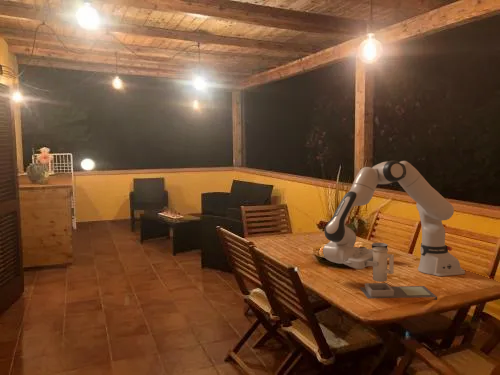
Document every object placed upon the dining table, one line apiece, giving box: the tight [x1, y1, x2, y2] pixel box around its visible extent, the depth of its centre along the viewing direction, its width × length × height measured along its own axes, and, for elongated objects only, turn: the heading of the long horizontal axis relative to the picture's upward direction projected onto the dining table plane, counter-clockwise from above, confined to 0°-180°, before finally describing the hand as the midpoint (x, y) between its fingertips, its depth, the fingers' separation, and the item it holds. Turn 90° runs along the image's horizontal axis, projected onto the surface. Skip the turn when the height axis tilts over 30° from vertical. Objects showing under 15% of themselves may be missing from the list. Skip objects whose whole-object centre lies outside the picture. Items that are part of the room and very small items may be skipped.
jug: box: [371, 247, 395, 283], centre depth 188 cm, size 9×7×14 cm
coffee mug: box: [371, 242, 388, 249], centre depth 242 cm, size 12×9×10 cm
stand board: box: [359, 282, 438, 301], centre depth 190 cm, size 30×14×4 cm, turn 90°
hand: (381, 262), depth 188 cm, fingers closed on jug, 6 cm apart
